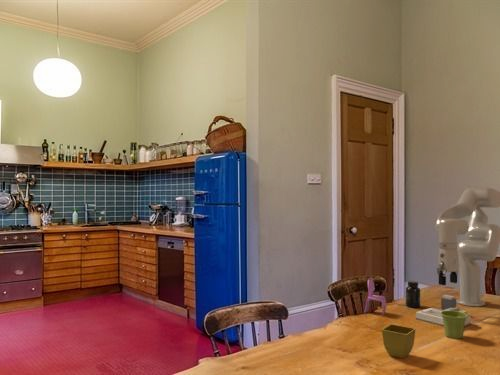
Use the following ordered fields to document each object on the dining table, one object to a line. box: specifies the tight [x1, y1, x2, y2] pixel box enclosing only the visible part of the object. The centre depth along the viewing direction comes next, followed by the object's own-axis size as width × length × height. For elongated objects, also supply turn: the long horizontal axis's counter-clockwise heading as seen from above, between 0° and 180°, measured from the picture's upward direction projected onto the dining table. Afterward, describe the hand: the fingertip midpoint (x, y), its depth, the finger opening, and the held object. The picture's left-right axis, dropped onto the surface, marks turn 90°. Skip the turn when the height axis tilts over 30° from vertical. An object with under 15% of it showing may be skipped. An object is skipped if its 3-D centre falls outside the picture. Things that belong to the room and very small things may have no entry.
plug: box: [440, 294, 457, 310], centre depth 197 cm, size 4×5×8 cm
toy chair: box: [363, 279, 387, 316], centre depth 199 cm, size 8×9×15 cm
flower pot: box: [381, 323, 416, 359], centre depth 146 cm, size 9×9×9 cm
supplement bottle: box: [405, 280, 421, 309], centre depth 210 cm, size 7×7×12 cm
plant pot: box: [441, 311, 468, 340], centre depth 166 cm, size 9×9×9 cm
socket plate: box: [415, 307, 472, 327], centre depth 185 cm, size 12×18×4 cm, turn 36°
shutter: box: [442, 306, 468, 318], centre depth 181 cm, size 7×7×4 cm
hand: (448, 283), depth 197 cm, fingers open, 9 cm apart
